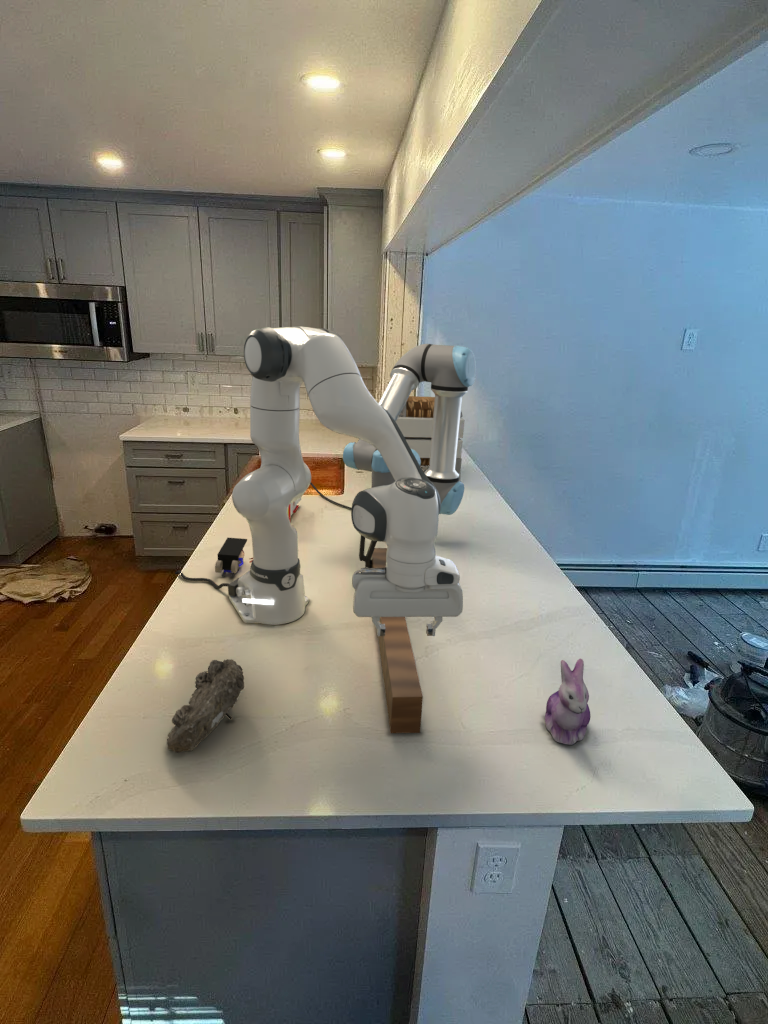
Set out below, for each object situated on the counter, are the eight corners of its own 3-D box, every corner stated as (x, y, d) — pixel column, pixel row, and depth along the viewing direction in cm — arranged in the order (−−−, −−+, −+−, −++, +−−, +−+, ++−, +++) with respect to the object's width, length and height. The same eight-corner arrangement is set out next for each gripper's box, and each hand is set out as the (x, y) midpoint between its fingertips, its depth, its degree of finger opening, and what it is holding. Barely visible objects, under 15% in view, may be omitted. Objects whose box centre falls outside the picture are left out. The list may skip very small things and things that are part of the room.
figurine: (568, 754, 103) (581, 685, 97) (530, 719, 111) (540, 654, 106) (605, 739, 107) (619, 671, 102) (565, 706, 115) (577, 642, 110)
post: (369, 573, 170) (370, 547, 167) (388, 573, 170) (389, 548, 167) (390, 733, 106) (392, 697, 103) (420, 732, 106) (423, 696, 104)
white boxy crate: (382, 463, 289) (386, 382, 275) (445, 464, 293) (451, 384, 279) (390, 482, 257) (394, 392, 243) (460, 483, 261) (468, 394, 247)
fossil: (192, 660, 117) (244, 628, 112) (224, 691, 120) (276, 661, 115) (142, 746, 98) (202, 712, 93) (182, 779, 101) (242, 748, 96)
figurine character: (238, 584, 162) (249, 557, 175) (236, 562, 158) (247, 536, 172) (215, 584, 161) (227, 556, 175) (212, 561, 158) (225, 535, 171)
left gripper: (353, 575, 98) (351, 644, 103) (468, 576, 100) (461, 643, 105) (352, 560, 104) (350, 625, 109) (461, 561, 106) (454, 625, 111)
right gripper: (350, 510, 151) (348, 588, 159) (419, 511, 153) (414, 588, 160) (349, 501, 158) (348, 576, 166) (416, 502, 160) (411, 576, 167)
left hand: (405, 634), depth 107 cm, fingers open, 8 cm apart
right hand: (380, 582), depth 163 cm, fingers closed on post, 6 cm apart
